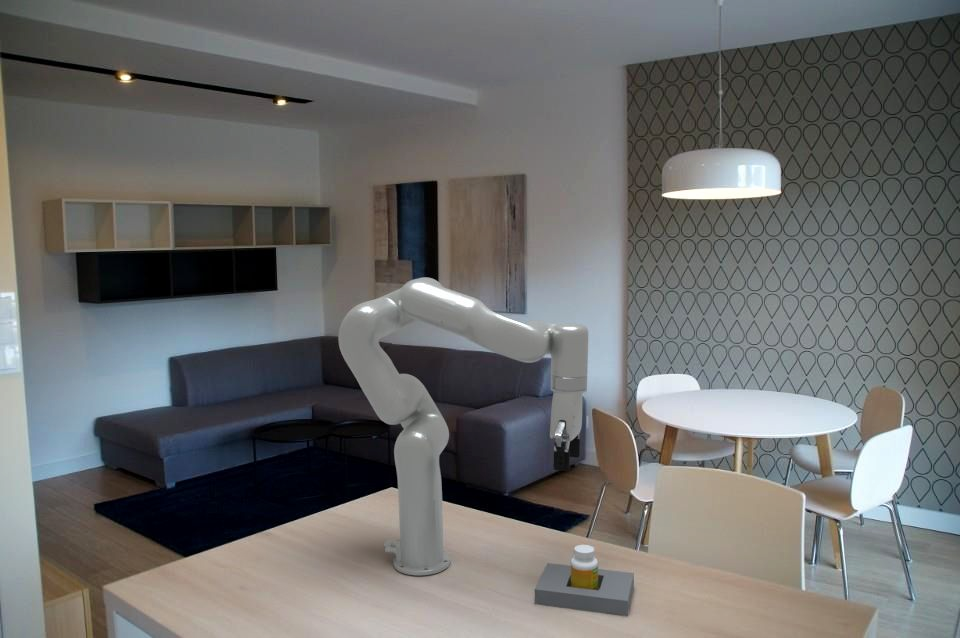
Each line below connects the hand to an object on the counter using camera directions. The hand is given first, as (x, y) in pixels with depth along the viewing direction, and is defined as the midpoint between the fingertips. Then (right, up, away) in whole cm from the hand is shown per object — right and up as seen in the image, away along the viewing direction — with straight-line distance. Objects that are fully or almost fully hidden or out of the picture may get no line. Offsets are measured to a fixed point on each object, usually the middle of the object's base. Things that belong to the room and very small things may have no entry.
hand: (566, 463), depth 156 cm
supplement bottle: (+3, -25, -7) cm, 26 cm away
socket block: (+3, -25, -7) cm, 26 cm away
